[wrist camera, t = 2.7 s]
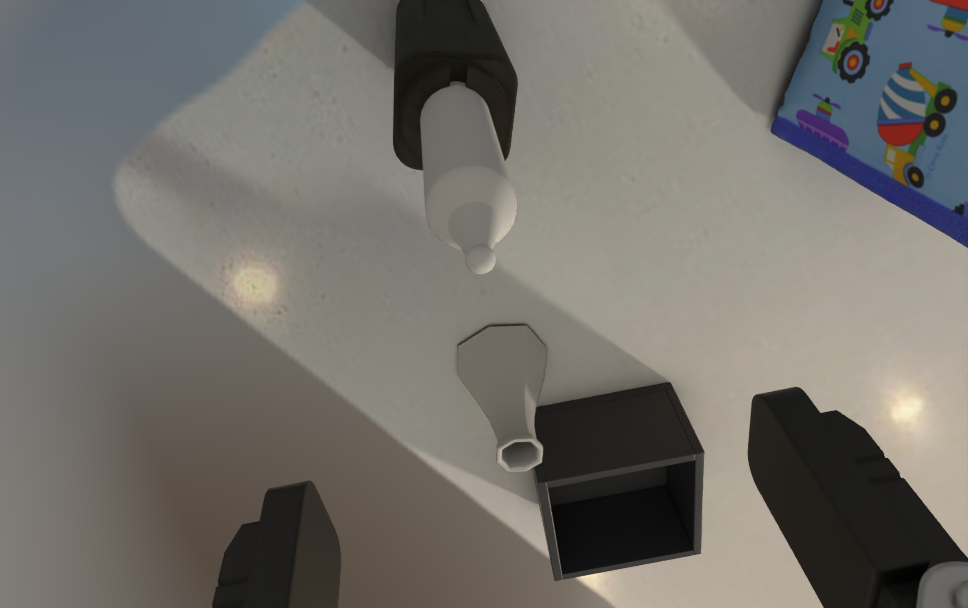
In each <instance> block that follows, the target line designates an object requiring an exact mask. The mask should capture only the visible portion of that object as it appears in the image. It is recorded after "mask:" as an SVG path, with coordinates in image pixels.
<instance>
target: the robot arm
mask: <svg viewBox="0 0 968 608" xmlns="http://www.w3.org/2000/svg"><path fill="white" fill-rule="evenodd" d="M748 461H749V467H750V471H751V474H752V477H753V480H754V482H755V484H756V486H757V488H758V490H759V492H760V494H761V496H762V497H763V499H764V501H765V503H766V505H767V506H768V508H769V510H770V512H771V514H772V515H773V517H774V519H775V521H776V522H777V524H778V526H779V528H780V530H781V531H782V533H783V535H784V537H785V539H786V540H787V542H788V544H789V546H790V548H791V549H792V551H793V553H794V555H795V557H796V558H797V560H798V562H799V564H800V566H801V567H802V569H803V571H804V573H805V575H806V576H807V578H808V580H809V582H810V584H811V585H812V587H813V589H814V591H815V593H816V594H817V596H818V598H819V600H820V602H821V603H822V605H823V607H824V608H968V558H967V557H966V555H965V554H964V553H963V552H962V551H961V550H960V548H959V547H958V546H957V545H956V543H955V542H954V541H953V540H952V538H951V537H950V536H949V535H948V533H947V532H946V531H945V529H944V528H943V527H942V526H941V524H940V523H939V522H938V521H937V519H936V518H935V517H934V516H933V514H932V513H931V512H930V511H929V509H928V508H927V507H926V506H925V504H924V503H923V502H922V500H921V499H920V498H919V497H918V495H917V494H916V493H915V492H914V490H913V489H912V488H911V487H910V485H909V484H908V483H907V482H906V480H905V479H904V478H901V477H900V473H899V471H898V470H897V469H896V468H895V466H894V465H893V464H892V463H891V461H890V460H889V459H888V458H885V456H884V453H883V451H882V450H881V449H880V448H879V446H878V445H877V444H876V442H875V441H874V440H873V439H872V437H871V436H870V435H869V434H868V432H867V431H866V430H865V429H864V428H863V427H861V426H860V425H858V424H857V423H855V422H854V421H852V420H851V419H849V418H848V417H846V416H845V415H843V414H841V413H840V412H838V411H837V410H834V411H829V412H824V413H820V412H819V411H818V409H817V408H816V406H815V405H814V404H813V402H812V401H811V400H810V398H809V397H808V396H807V394H806V393H805V392H804V391H803V390H802V389H801V388H799V387H793V388H788V389H783V390H777V391H772V392H767V393H762V394H757V395H755V396H754V397H753V399H752V406H751V418H750V430H749V442H748ZM340 571H341V553H340V545H339V540H338V536H337V533H336V530H335V528H334V526H333V524H332V521H331V520H330V517H329V515H328V513H327V511H326V509H325V506H324V504H323V502H322V500H321V498H320V495H319V493H318V491H317V489H316V487H315V485H314V484H313V482H312V481H305V482H300V483H295V484H289V485H284V486H279V487H274V488H270V489H268V490H267V492H266V494H265V497H264V502H263V507H262V512H261V517H260V521H258V522H253V523H247V524H243V525H242V526H241V528H240V529H239V531H238V532H237V534H236V535H235V537H234V538H233V540H232V542H231V543H230V545H229V546H228V548H227V549H226V551H225V553H224V557H223V561H222V566H221V570H220V574H219V578H218V584H219V585H218V587H216V591H215V595H214V599H213V603H212V606H213V608H338V599H339V585H340V573H341V572H340Z"/></svg>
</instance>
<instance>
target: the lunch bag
mask: <svg viewBox="0 0 968 608" xmlns="http://www.w3.org/2000/svg"><path fill="white" fill-rule="evenodd" d="M771 133H772V134H774V135H776V136H778V137H779V138H781V139H783V140H785V141H787V142H789V143H790V144H792V145H794V146H796V147H797V148H799V149H802V150H804V151H806V152H808V153H809V154H811V155H813V156H815V157H817V158H818V159H820V160H821V161H823V162H825V163H826V164H828V165H829V166H831V167H833V168H835V169H836V170H837V171H839V172H841V173H842V174H844V175H846V176H847V177H849V178H851V179H852V180H854V181H855V182H857V183H858V184H860V185H862V186H864V187H865V188H867V189H869V190H870V191H872V192H874V193H875V194H877V195H879V196H881V197H882V198H884V199H885V200H887V201H888V202H890V203H892V204H894V205H896V206H898V207H899V208H901V209H903V210H905V211H907V212H909V213H910V214H912V215H914V216H916V217H917V218H919V219H921V220H922V221H924V222H926V223H927V224H929V225H931V226H932V227H934V228H936V229H938V230H939V231H941V232H943V233H945V234H946V235H948V236H949V237H951V238H952V239H954V240H956V241H957V242H959V243H961V244H962V245H964V246H966V247H967V248H968V0H823V2H822V5H821V8H820V10H819V13H818V16H817V18H816V19H815V21H814V24H813V27H812V30H811V33H810V36H809V40H808V43H807V45H806V46H805V48H804V50H803V53H802V55H801V58H800V60H799V63H798V65H797V68H796V70H795V73H794V75H793V77H792V79H791V81H790V84H789V86H788V88H787V90H786V92H785V94H784V97H783V102H782V105H781V106H780V108H779V109H778V114H777V116H776V117H775V120H774V122H773V124H772V127H771Z"/></svg>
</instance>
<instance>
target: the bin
mask: <svg viewBox="0 0 968 608" xmlns="http://www.w3.org/2000/svg"><path fill="white" fill-rule="evenodd" d="M534 429H535V434H536V439H537V440H538V441H539V442H540V443H541V444H542V446H543V456H542V463H540V464H538V465H536V466H534V467H533V473H534V479H535V484H536V490H537V495H538V501H539V507H540V511H541V516H542V521H543V526H544V531H545V536H546V541H547V546H548V551H549V555H550V560H551V565H552V570H553V575H554V580H555V581H558V580H562V579H569V578H574V577H580V576H585V575H590V574H596V573H601V572H606V571H612V570H617V569H622V568H628V567H633V566H639V565H644V564H649V563H655V562H660V561H665V560H671V559H676V558H681V557H687V556H692V555H697V554H701V549H702V519H703V489H704V458H705V452H704V450H703V448H702V446H701V444H700V442H699V440H698V438H697V435H696V433H695V431H694V429H693V427H692V425H691V423H690V421H689V419H688V417H687V415H686V413H685V411H684V409H683V407H682V405H681V403H680V401H679V399H678V397H677V395H676V393H675V391H674V389H673V386H672V384H671V383H670V382H669V383H664V384H659V385H654V386H648V387H643V388H638V389H633V390H627V391H622V392H617V393H611V394H606V395H601V396H596V397H590V398H585V399H580V400H575V401H569V402H564V403H559V404H554V405H548V406H543V407H538V408H536V412H535V417H534Z"/></svg>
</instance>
